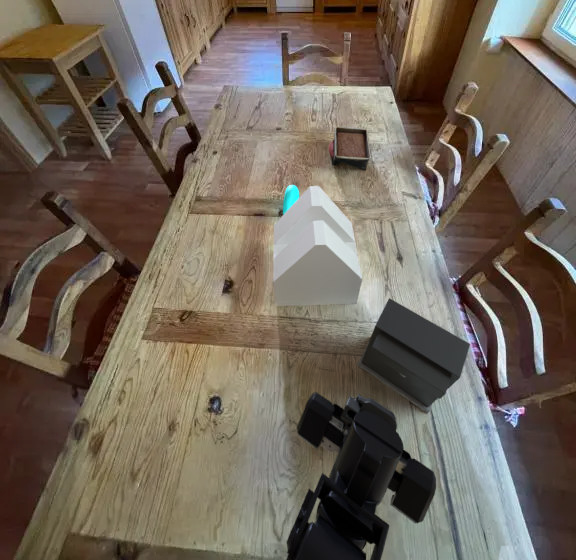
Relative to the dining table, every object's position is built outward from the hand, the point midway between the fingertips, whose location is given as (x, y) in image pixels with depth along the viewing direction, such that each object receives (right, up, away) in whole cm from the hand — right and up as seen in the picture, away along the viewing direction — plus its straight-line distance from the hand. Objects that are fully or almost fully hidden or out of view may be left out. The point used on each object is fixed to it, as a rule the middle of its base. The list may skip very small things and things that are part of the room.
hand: (371, 419), depth 56 cm
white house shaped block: (-7, +14, +31) cm, 35 cm away
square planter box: (+8, +46, +64) cm, 79 cm away
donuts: (-9, +28, +46) cm, 55 cm away
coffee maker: (+9, -2, +14) cm, 17 cm away
